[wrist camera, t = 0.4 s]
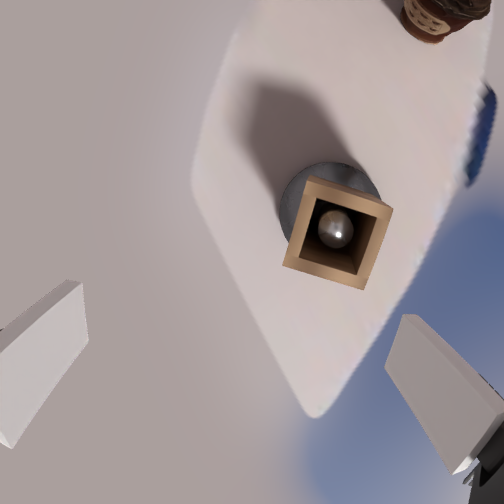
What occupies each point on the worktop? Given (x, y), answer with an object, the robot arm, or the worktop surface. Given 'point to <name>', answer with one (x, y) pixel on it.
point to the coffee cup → (440, 17)
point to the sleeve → (349, 256)
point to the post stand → (325, 203)
